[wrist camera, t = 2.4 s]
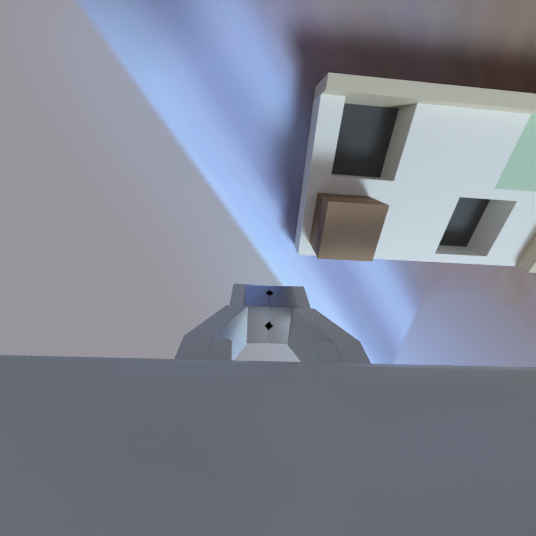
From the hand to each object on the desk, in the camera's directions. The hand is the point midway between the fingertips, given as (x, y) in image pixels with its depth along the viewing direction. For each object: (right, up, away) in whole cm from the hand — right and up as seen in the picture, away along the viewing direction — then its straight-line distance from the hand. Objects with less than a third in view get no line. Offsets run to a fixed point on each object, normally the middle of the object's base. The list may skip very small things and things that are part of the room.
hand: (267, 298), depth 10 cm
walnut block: (+7, +6, +13) cm, 16 cm away
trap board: (+17, +10, +15) cm, 24 cm away
